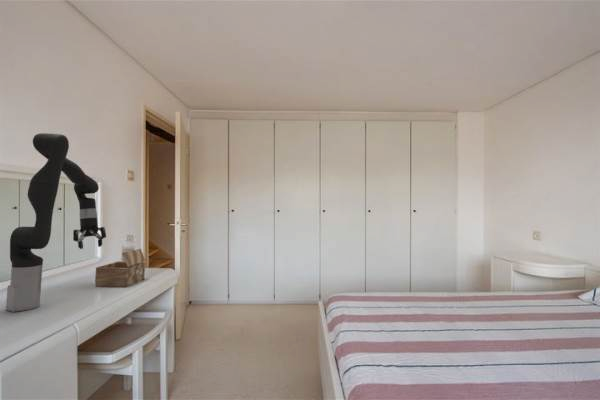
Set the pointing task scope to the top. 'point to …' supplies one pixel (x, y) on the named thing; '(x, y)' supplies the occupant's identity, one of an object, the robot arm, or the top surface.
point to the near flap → (133, 257)
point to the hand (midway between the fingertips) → (90, 247)
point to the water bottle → (127, 246)
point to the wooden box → (119, 274)
